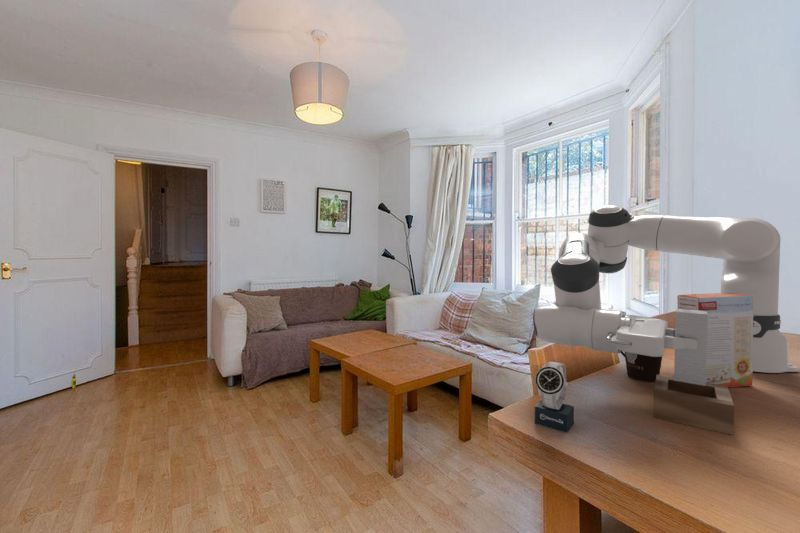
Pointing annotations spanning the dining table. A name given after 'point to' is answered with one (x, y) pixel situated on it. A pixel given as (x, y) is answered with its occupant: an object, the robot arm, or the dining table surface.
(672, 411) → the well block
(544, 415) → the watch
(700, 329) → the grey brushed metal pillar
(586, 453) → the dining table surface
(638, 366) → the coffee mug
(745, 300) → the cracker box
